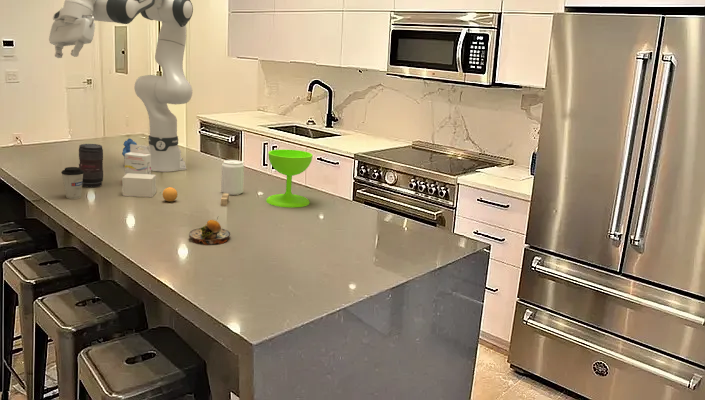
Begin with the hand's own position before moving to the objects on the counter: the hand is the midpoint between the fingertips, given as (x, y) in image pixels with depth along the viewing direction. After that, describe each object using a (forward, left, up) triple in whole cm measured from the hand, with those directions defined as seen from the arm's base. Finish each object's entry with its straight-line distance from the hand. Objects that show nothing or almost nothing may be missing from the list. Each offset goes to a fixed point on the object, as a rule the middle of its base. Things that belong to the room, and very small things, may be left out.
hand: (66, 56), depth 193 cm
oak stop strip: (0, +52, -47) cm, 70 cm away
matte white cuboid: (-7, +21, -47) cm, 52 cm away
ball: (+1, +33, -44) cm, 55 cm away
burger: (+39, +51, -47) cm, 80 cm away
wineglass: (-6, +74, -47) cm, 88 cm away
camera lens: (-16, +2, -47) cm, 50 cm away
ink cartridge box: (-22, +17, -47) cm, 55 cm away
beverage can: (-15, +53, -47) cm, 72 cm away
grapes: (-51, +7, -47) cm, 70 cm away
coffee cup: (+1, +1, -47) cm, 47 cm away
